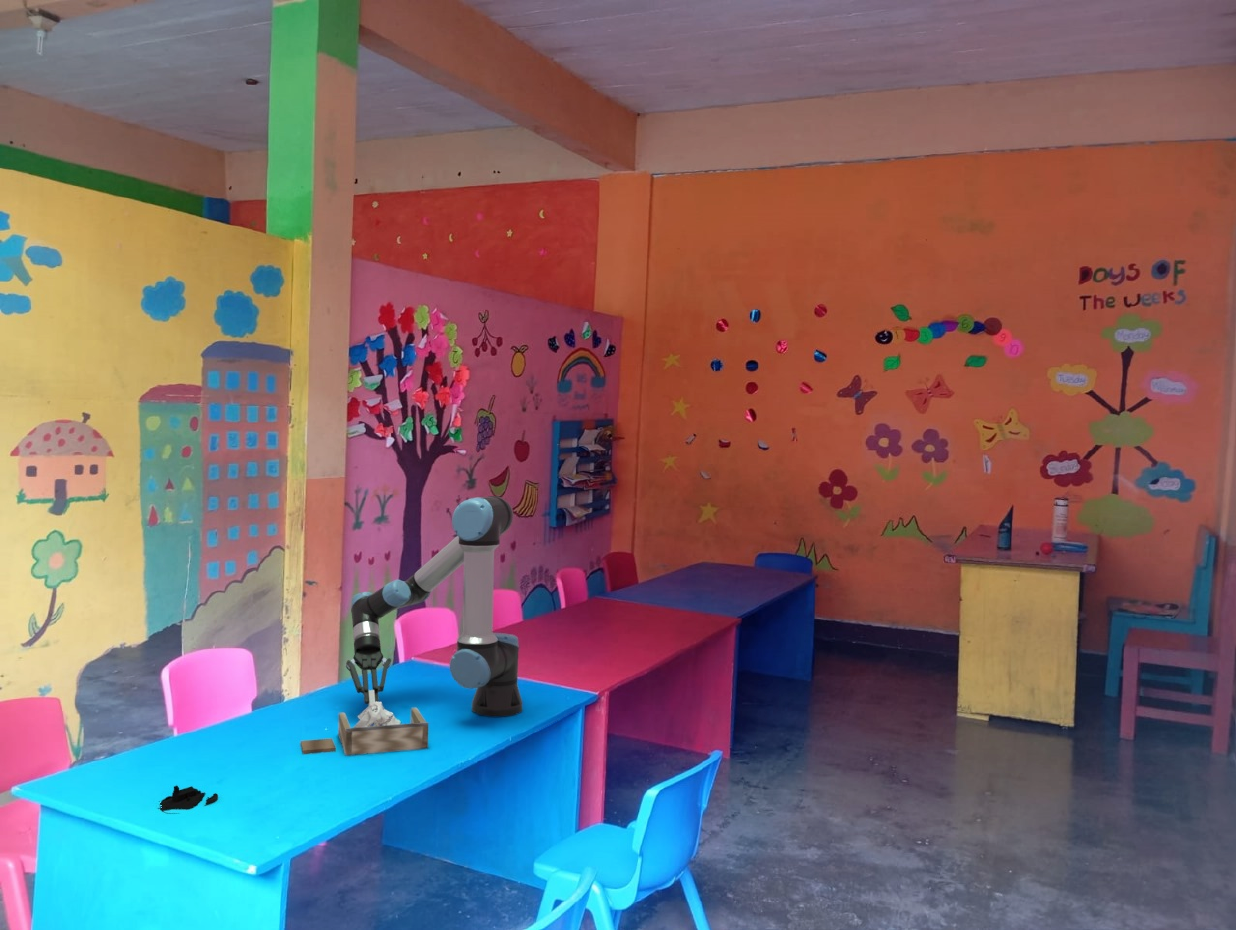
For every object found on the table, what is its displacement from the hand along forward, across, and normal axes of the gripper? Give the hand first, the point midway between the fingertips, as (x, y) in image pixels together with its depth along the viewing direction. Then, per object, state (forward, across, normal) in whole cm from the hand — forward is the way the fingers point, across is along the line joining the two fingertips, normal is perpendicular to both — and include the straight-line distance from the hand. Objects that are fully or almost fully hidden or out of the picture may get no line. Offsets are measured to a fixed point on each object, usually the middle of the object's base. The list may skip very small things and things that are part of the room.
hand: (372, 713), depth 277 cm
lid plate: (+13, +16, +7) cm, 22 cm away
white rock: (+8, -1, +2) cm, 8 cm away
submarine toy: (+35, +46, +29) cm, 64 cm away
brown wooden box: (+12, -1, +7) cm, 14 cm away
